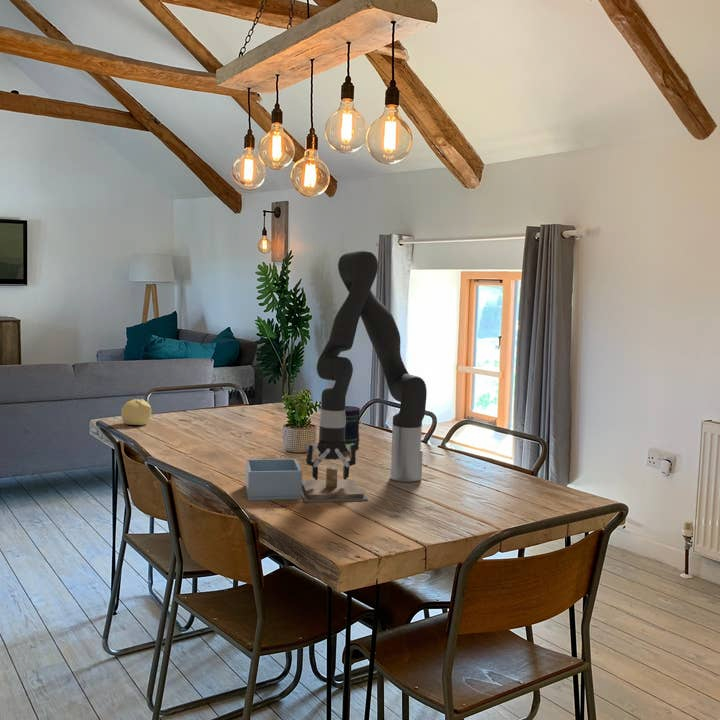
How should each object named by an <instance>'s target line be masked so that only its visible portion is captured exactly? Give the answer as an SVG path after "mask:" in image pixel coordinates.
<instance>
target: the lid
mask: <svg viewBox="0 0 720 720" xmlns="http://www.w3.org/2000/svg"><path fill="white" fill-rule="evenodd" d="M355 482H356V481H355V480H354V478H353V479H349V478H347V479H346V480H344V479H338V468H337V467H331V466H330V467H327V468H326V479H318V480H315V479H307V480H306V479H304V480H303V479H302V488H303V490H304V492H305V494H306V497H307V499H347V498H364V495H365V493H364V491H363V490H362V489H361V488H360V486H359V485H358V483H357V482H356V483H355ZM358 486H359V487H358ZM360 489H361V490H362V491H361V490H360ZM363 493H364V494H363Z"/></svg>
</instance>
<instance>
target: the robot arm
mask: <svg viewBox="0 0 720 720" xmlns="http://www.w3.org/2000/svg"><path fill="white" fill-rule="evenodd" d="M337 267H338V268H337V269H338V270H337V271H338V273H339V276H340V279H341V280H342V282H343V284H344V287H345V288H346V290H347V292H348V295H347V297H346V298H345V300H344V302H343V304H342V305H341V306H340V308H339V309H338V312H337V314H336V315H335V317H334V320H333V322H332V327H331V331H330V335H329V339H328V341H327V343H326V345H325V346H324V349H323V350H322V352H321V353H320V356H319V358H318V359H317V363H316V372H317V373H316V374H317V375H318V378H320V379H322V380H327V381H334V382H335V383H334V385H333V386H332V387H328V388H324V389H323V390H322V392H321V398H320V399H321V400H320V401H321V402H320V404H321V405H320V408H321V409H320V413H319V427H318V430H319V431H318V443H317V444H314V443H313V444H312V443H309V442H308V444H307V451H306V458H305V459H306V461H305V462H306V464H307V465H308V466H310V467H312V469H311V476H312V478H314V479H313V480H319V479H318V478H319V475H318V474H319V467H318V466H319V465H320V463H321V462H323V460H324V459H325V460H338V459H340V461H341V462H342V463H343V464H344V465H343V469H342V471H343V472H342V480H348V479H349V476H350V467H351V466H355V465H356V461H357V460H356V456H357V455H356V450H355V445H354V444H353V443H351V444H350V445H345V425H346V415H345V406H346V399H347V397H346V396H347V394H348V393H347V392H348V389H349V386H350V383H351V380H352V377H353V372H354V366H353V363H352V361H351V360H350V358H348V357H345V356H339V355H340V353H343V352H347V351H350V350H351V349H352V348H353V345H354V341H355V336H356V332H357V330H358V329H357V328H358V324H359V320H360V319H361V320H362V323H363V326H364V328H365V331H366V333H367V336H368V337H369V340H370V342H371V345H372V347H373V349H374V352H375V354H376V357H377V358H378V361H379V363H380V365H381V368H382V372H383V374H384V377H385V381H386V383H387V388H388V391H389V393H390V395H391V397H392V398H393V399H394V400H395V401H397V402H399V403H400V406H399V411H398V413H396V414H395V415H393V417H392V431H391V433H392V434H391V455H390V456H391V458H390V462H391V463H390V478H391V480H393V481H396V482H401V483H402V482H403V483H412V482H413V483H414V482H417V481H422V480H423V479H422V478H423V454H424V453H423V450H422V433H423V430H422V428H423V427H422V426H423V420H424V418H425V415H426V406H427V405H426V403H427V384H426V382H425V380H424V379H423V378H422V377H420V376H417V375H413V374H410V373H409V372H408V370H407V368H406V366H405V364H404V362H403V359H402V355H401V354H402V353H401V333H400V331H399V328H398V325H397V323H396V321H395V318H394V317H393V314H392V313H391V311H390V310H389V309H388V307H386V306H385V304H383V303H382V302H381V300H379V299H378V297H376V296H375V294H374V293H373V292H372V290H371V289H372V286H373V285H374V282H375V280H376V277H377V274H378V272H379V271H378V270H379V269H378V268H379V262H378V258H377V256H376V255H375V254H374V253H373V252H372V251H370V250H358V251H352V252H347V253H344V254H342V255H341V256H340V257H339V259H338V263H337ZM346 448H347V449H348V451H347V452H349V460H347V459H346V458H345V457H344V455H343V453H344V452H346V451H345V449H346ZM316 449H317V451H318V452H319V453H318V454H317V455H316V457H315V459H314V460H313V453H314V452H316Z"/></svg>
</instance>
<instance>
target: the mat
mask: <svg viewBox="0 0 720 720" xmlns="http://www.w3.org/2000/svg"><path fill="white" fill-rule="evenodd" d="M355 483H356V484H357V482H356V481H355ZM358 487H359V488H360V486H359V485H358ZM360 490H361V491H362V492H363V490H362V488H360ZM363 494H364V498H347V499H307V497H306V494H305V492H304V490H303V488H302V495H301V498H302V499H303V501H304V503H328V502H334V503H335V502H365V501H367V502H368V500H369V499H368V497H367V496H366V495H365V493H364V492H363Z"/></svg>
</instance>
